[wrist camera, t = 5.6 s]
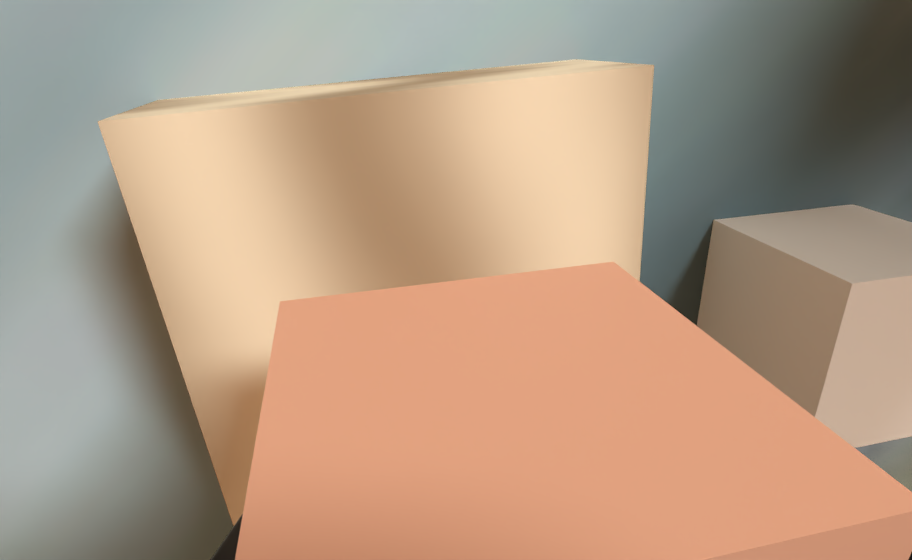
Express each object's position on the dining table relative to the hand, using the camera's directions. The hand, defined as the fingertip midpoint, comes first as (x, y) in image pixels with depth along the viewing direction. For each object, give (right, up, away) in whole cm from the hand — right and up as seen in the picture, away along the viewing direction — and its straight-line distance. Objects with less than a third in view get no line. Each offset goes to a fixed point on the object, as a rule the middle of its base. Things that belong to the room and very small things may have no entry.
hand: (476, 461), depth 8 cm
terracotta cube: (0, 0, +1) cm, 1 cm away
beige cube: (+10, +3, +10) cm, 14 cm away
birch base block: (-2, +3, +7) cm, 8 cm away
